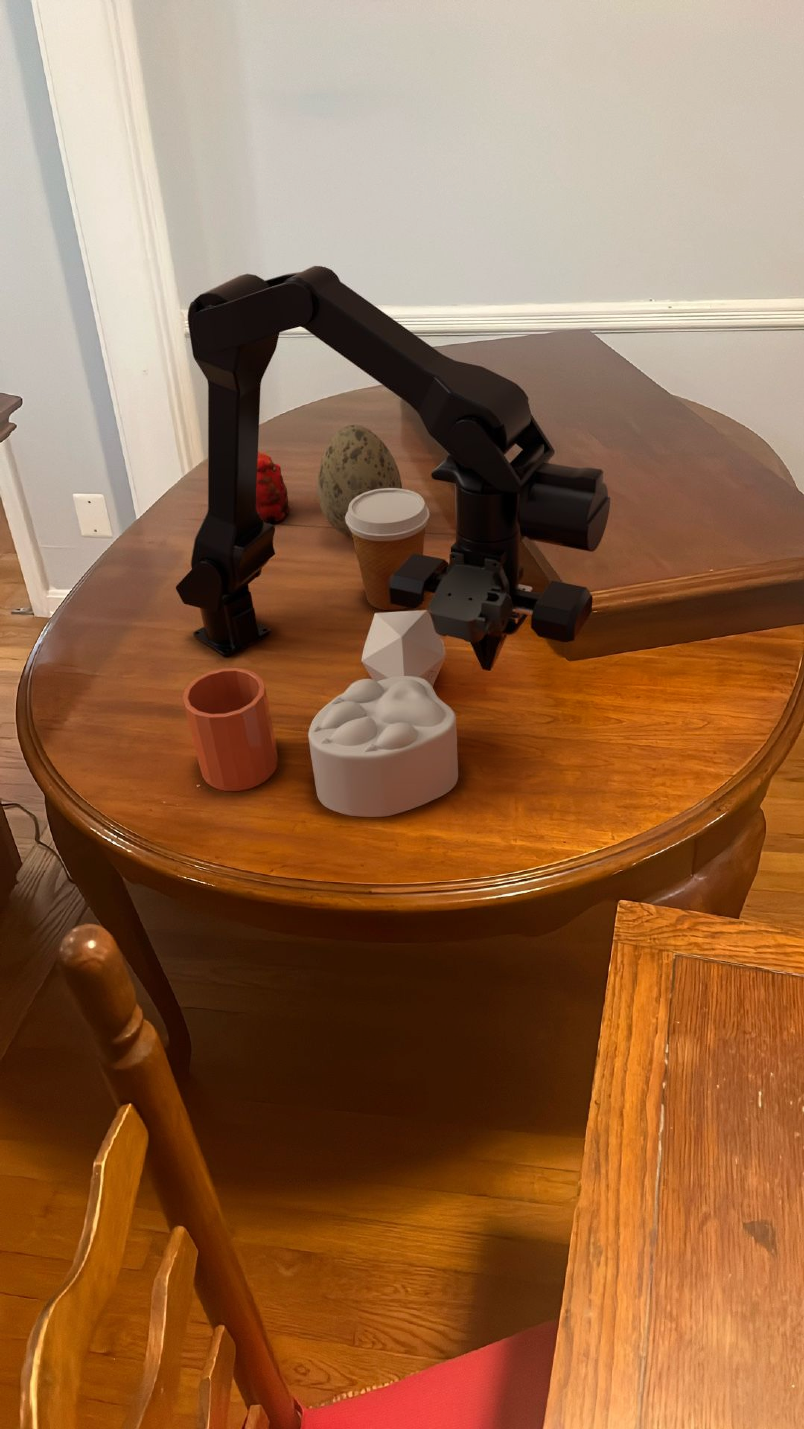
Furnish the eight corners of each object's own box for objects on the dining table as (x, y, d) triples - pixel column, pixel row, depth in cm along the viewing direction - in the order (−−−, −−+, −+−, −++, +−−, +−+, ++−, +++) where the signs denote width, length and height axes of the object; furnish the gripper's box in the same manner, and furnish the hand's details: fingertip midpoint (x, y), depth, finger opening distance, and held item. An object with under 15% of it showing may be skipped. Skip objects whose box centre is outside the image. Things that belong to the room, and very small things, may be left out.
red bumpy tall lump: (297, 520, 135) (282, 414, 126) (247, 532, 134) (229, 425, 124) (280, 498, 141) (265, 394, 132) (233, 509, 139) (214, 405, 130)
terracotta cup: (186, 767, 97) (167, 693, 91) (247, 731, 100) (232, 658, 95) (231, 802, 92) (214, 728, 87) (293, 763, 96) (280, 689, 90)
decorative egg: (307, 543, 130) (292, 434, 121) (355, 509, 137) (345, 403, 128) (373, 563, 125) (363, 450, 116) (420, 527, 132) (414, 417, 123)
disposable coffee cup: (447, 587, 120) (444, 496, 112) (405, 626, 114) (399, 532, 106) (381, 569, 124) (374, 480, 116) (337, 605, 118) (327, 514, 110)
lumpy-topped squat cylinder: (470, 786, 92) (468, 713, 86) (340, 835, 88) (330, 762, 83) (420, 725, 99) (416, 654, 94) (299, 767, 96) (287, 695, 90)
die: (418, 725, 101) (467, 640, 98) (340, 684, 99) (386, 597, 97) (418, 700, 109) (462, 621, 106) (345, 663, 107) (388, 581, 105)
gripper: (353, 551, 87) (367, 692, 97) (556, 592, 80) (549, 740, 90) (409, 496, 95) (417, 632, 104) (599, 529, 87) (588, 672, 97)
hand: (488, 668), depth 99 cm, fingers closed
